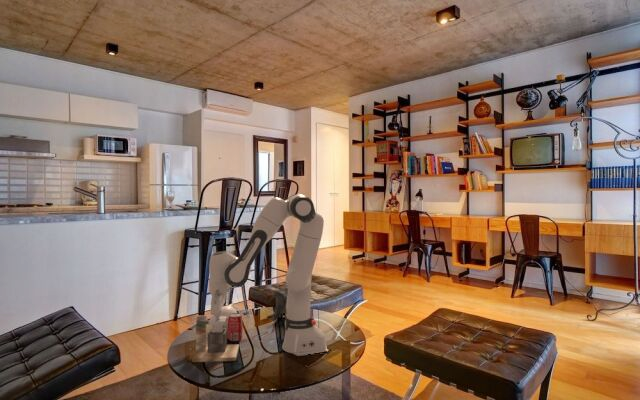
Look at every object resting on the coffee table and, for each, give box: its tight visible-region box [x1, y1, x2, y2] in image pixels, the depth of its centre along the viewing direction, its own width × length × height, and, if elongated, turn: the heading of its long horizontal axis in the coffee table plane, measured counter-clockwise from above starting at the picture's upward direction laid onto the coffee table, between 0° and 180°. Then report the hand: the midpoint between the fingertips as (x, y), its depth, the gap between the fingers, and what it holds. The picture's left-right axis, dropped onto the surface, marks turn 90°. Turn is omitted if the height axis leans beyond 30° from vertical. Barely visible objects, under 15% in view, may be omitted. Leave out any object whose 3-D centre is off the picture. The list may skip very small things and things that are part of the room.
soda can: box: [227, 312, 244, 342], centre depth 178 cm, size 7×7×12 cm
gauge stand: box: [191, 314, 240, 363], centre depth 161 cm, size 18×14×17 cm
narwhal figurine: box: [266, 286, 288, 321], centre depth 212 cm, size 14×15×18 cm
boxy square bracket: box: [196, 315, 227, 334], centre depth 162 cm, size 12×7×10 cm, turn 97°
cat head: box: [209, 303, 238, 331], centre depth 192 cm, size 15×13×12 cm
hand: (217, 318), depth 163 cm, fingers closed, pressing on boxy square bracket
